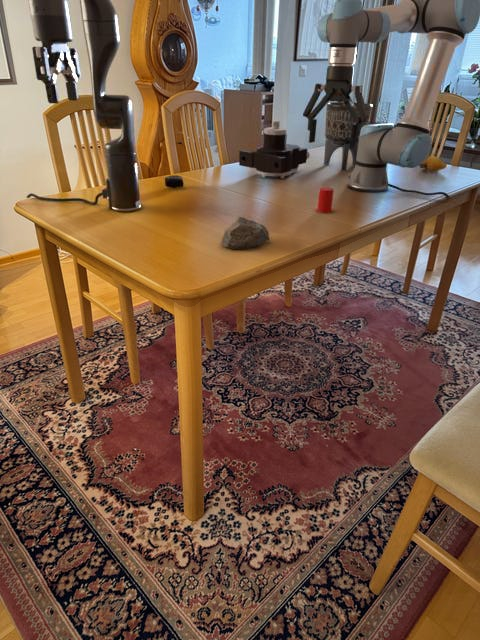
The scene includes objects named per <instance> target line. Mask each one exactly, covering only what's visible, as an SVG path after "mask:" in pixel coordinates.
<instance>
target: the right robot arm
mask: <svg viewBox="0 0 480 640" xmlns="http://www.w3.org/2000/svg"><path fill="white" fill-rule="evenodd" d="M333 4H334V5H333V8H332V9H333V10H332V12H330V13H325V14H323V15H322V17H320V19H319V21H318V23H317V36H318V39H319V40H320V41H321V42H323V43H328V44H329V47H328V55H327V56H328V57H327V64H329V65H328V66H327V67H326V76H325V84H323V83H315V85H314V90H313V93H312V95H311V97H310V99H309V101H308V103H307V105H306V106H305V109H304V111H303V113H302V117H305V118H307V131H309V135H308V143H309V144H310V143H315V142H316V135H317V134H316V133H317V122H318V119H316V117H317V116H318V115H319V114H320V113H321V111H322V110H323V109H324V108H325V107H326V106H327V103H330V102H344V104H345V105H346V106H347V108H348V110H349V112H350V114H351V115H352V117H353V119H354V121H355V122H356V123H355V124H353V126H352V134H351V141H350V148H353V147H355V146H356V139H357V136H359V135H360V136H359V142H358V150H357V158H356V165H355V166H354V167H353V171H351V174H350V175H348V180H347V181H348V182H347V187H348V188H349V189H351V190H354V191H358V192H363V193H364V192H365V193H382V192H386V191H388V189H389V187H390V188H393V189H395V190H398V191H400V192H404V193H413V194H419V195H423V196H437V195H442V196H445V197H446V198H448V199H450V198H451V196H450V195H449V194H448V193H446V192H445V191H436V192H426V191H425V192H424V191H420V190H416V189H405V188H402V187H399V186H397V185H394V184H392V183H389V178H388V173H387V172H388V171H387V166H388V165H392V166H396V167H397V166H398V167H400V168H408V169H414V168H417V167H419V165H420V164H422V163H423V162H424V161H425V159H426V158H428V156H429V155H430V152H431V150H432V143H433V139H432V136H431V135H430V132H431V129H430V127H429V122H430V119H431V116H432V113H433V111H434V108H435V105H436V102H437V101H438V97H439V94H440V91H441V89H442V86H443V83H444V80H445V78H446V75H447V72H448V69H449V66H450V64H451V62H452V58H453V56H454V53H455V51H456V48H457V47H458V46H460V45H461V44H463V42H464V40H465V37H466V35H468V34H471V33H472V32H474V31H475V29H476V28H477V27H478V24H479V22H480V0H400V1H399V2H398V3H396V4H395V3H394V4H389V5H382V6H376V7H370V8H369V7H368V8H363V0H335V2H334V3H333ZM394 32H397V33H399V34H407V33H408V34H424V35H426V39H427V40H428V43H427V47H426V51H425V52H424V56H423V59H422V62H421V65H420V67H419V70H418V74H417V76H416V79H415V82H414V85H413V88H412V91H411V94H410V97H409V100H408V102H407V105H406V108H405V111H404V114H403V117H402V119H400V120H398V121H397V122H396V124H395V125H394V124H393V123H379V124H376V123H375V124H369V125H365V126H363V127H362V128H361V125H362V123H363V122H367V121H368V120H369V117H368V113H367V110H366V106H365V103H366V102H365V99H364V95H363V85H362V84H361V85H355V86H353V79H354V71H355V67H354V66H353V65H355V63H356V55H357V47H358V43H371V44H376V43H381V42H383V41H384V40H386V38H387V37H388V36H389V33H394ZM323 91H324V93H325V95H324V96H323V97H322V98H321V100H320V101H319V103H318V104H317V105H316V103H317V102H318V100H319V98H320V96H321V93H323ZM351 93H353V95H354V97H355V101H356V102H355V103H357V105H358V109H359V112H360V115H359V113H358V111H357V109H356V108H355V106H354V104H353V98H351V95H350V94H351ZM315 105H316V106H315Z"/></svg>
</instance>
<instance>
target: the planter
mask: <svg viewBox="0 0 480 640" xmlns="http://www.w3.org/2000/svg"><path fill="white" fill-rule="evenodd" d="M352 102H353V101H352ZM364 103H365V106H366V110H367V113H368V117H369V120H368V121H367V122H363V123H362V125H361V128H362V127H363V126H365V125H370V121H371V116H372V112H373V107H374V106H373V104H372V103H367V102H364ZM353 104H354V106H355V108H356V109H357V111H358V113H359V115H360V112H359V109H358V105H357V102H353ZM355 123H356V122H355V121H354V119H353V117H352V115H351V114H350V112H349V110H348V108H347V106H346V105H345V104H344V102H337V101H333V102H332V101H330V102H328V103H327V104H326V109H325V124H324V125H325V126H324V139H325V144H324V156H323V157H324V158H323V165H325V166H328V165H330V163H331V158H332V156H333V154H334V153H335V151H336V150H337V149H340V148H341V150H342V153H341V166H340V170H341V172H345V171H347V167H348V166H347V165H348V159H349V152H350V154H351V157H352V158H351V159H352V160H351V161H352V166H353V167H355V165H356V158H357V150H358V142H359V136H360V135H359V136H357V139H356V146H355V147H353V148H350V141H351V134H352V126H353V124H355Z"/></svg>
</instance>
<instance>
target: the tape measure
mask: <svg viewBox="0 0 480 640" xmlns="http://www.w3.org/2000/svg"><path fill="white" fill-rule="evenodd" d="M164 185H165V187H166V188H171V189H176V188H184V180H183V177H182V176H180V175H167V176H165V177H164Z"/></svg>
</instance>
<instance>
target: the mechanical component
mask: <svg viewBox="0 0 480 640" xmlns="http://www.w3.org/2000/svg"><path fill="white" fill-rule="evenodd" d="M287 138H288V129H287V128H286V127H280V121H279V120H272V126H271V127H265V128H264V129H263V145H262V146H258V147H257V148H256V151H250V150H245V149H241V150H239V153H238V154H239V155H238V157H239V159H238V166H240V167H245V168H250V169H255V173H256V174H257V175H261V177H262V178H267V177H279V178H280V179H285V176H291V175H292V173H298V171H299V167H300V165H303V164H304V165H305V164H307V160H309V158H310V156H311V154H310V152H309V151H308V148H304V147H301V146H299V145H297V144H290V143H287Z"/></svg>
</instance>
